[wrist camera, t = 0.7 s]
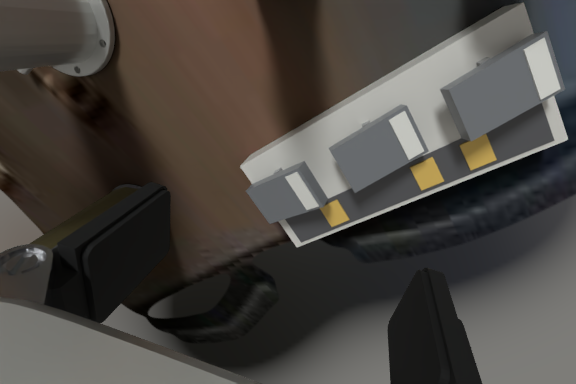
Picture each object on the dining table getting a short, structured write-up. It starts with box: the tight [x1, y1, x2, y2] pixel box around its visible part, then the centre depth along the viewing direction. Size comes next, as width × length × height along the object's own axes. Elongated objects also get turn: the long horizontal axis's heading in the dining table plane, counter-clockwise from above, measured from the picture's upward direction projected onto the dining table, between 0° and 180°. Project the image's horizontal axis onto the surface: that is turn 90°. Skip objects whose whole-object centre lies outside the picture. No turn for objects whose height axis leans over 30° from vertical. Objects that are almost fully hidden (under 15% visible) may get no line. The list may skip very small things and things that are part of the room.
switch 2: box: [329, 104, 429, 193], centre depth 30 cm, size 8×5×2 cm, turn 123°
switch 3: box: [440, 31, 565, 141], centre depth 26 cm, size 8×5×2 cm, turn 123°
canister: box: [30, 184, 141, 250], centre depth 40 cm, size 11×10×20 cm
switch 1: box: [246, 161, 328, 224], centre depth 35 cm, size 8×5×2 cm, turn 123°
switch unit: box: [240, 2, 568, 247], centre depth 34 cm, size 30×13×5 cm, turn 123°
